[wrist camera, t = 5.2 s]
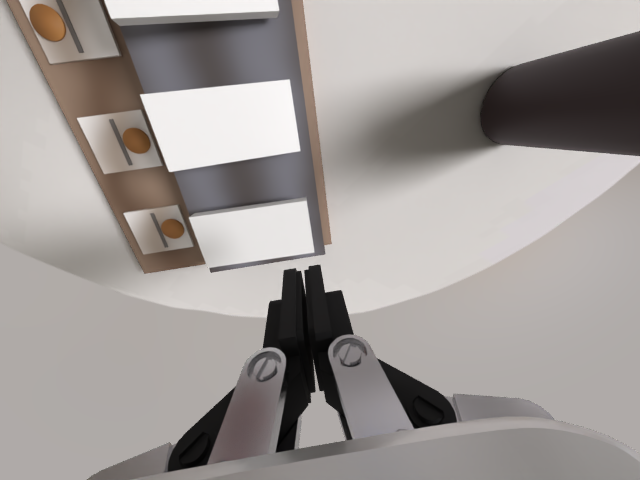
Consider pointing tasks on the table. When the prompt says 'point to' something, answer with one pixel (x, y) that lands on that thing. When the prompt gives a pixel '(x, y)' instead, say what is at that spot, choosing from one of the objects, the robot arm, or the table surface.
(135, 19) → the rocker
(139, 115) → the rocker switch unit
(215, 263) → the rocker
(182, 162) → the rocker middle
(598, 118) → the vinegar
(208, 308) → the table surface
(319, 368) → the robot arm
